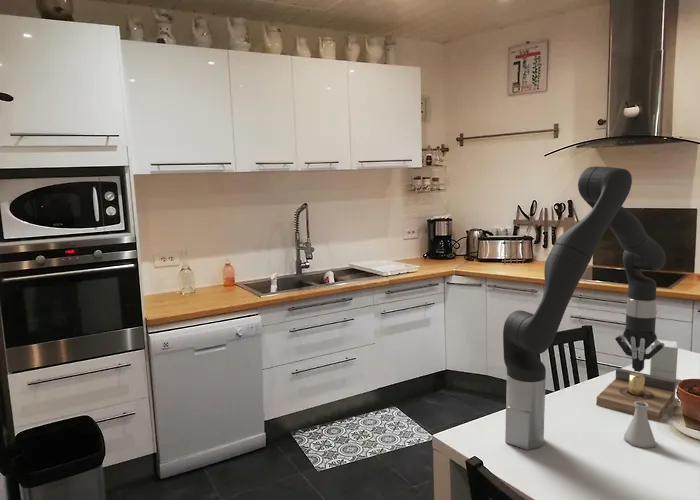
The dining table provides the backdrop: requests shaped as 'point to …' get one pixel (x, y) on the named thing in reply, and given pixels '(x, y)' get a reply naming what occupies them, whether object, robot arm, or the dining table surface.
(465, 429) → the dining table surface
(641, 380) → the gold upright block
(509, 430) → the robot arm
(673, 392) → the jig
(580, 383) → the dining table surface
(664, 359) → the supplement box
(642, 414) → the flask
